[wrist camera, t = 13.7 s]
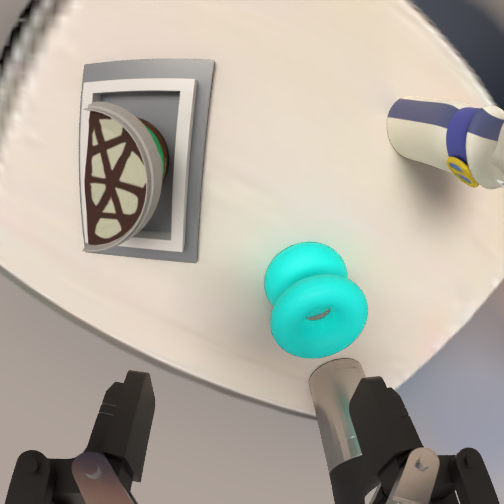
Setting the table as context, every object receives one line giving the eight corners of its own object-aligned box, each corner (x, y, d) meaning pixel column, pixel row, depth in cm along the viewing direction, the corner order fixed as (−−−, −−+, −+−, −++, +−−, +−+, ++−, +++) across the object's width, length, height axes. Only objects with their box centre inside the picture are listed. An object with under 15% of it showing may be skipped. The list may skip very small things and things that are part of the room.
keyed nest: (196, 259, 35) (193, 272, 32) (88, 248, 33) (78, 259, 31) (214, 61, 25) (212, 56, 22) (88, 65, 24) (75, 62, 21)
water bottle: (419, 178, 31) (585, 288, 9) (371, 133, 29) (576, 212, 7) (451, 129, 28) (624, 194, 6) (407, 80, 26) (609, 98, 4)
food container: (174, 221, 32) (151, 267, 23) (121, 215, 31) (83, 257, 22) (188, 105, 26) (165, 103, 17) (129, 101, 25) (84, 101, 16)
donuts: (285, 373, 30) (258, 304, 26) (275, 316, 39) (252, 252, 35) (374, 346, 29) (367, 271, 25) (347, 294, 38) (335, 227, 34)
